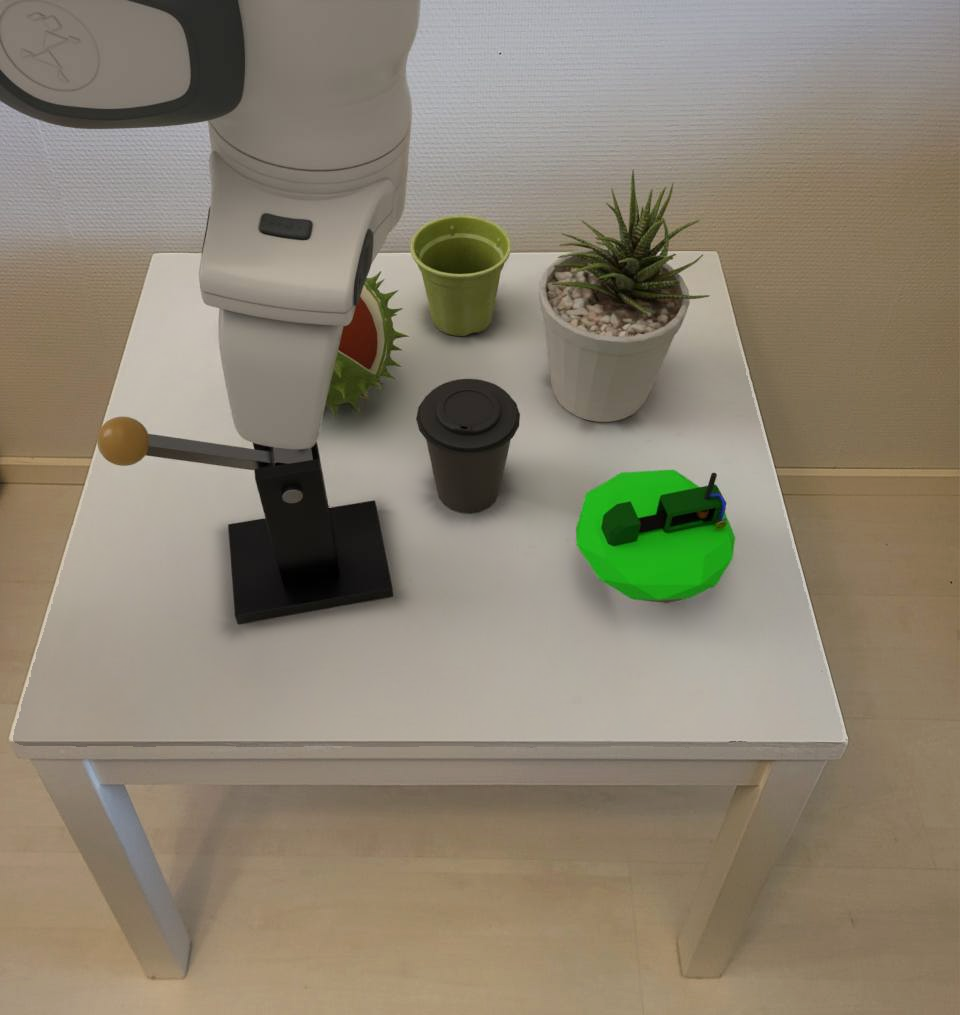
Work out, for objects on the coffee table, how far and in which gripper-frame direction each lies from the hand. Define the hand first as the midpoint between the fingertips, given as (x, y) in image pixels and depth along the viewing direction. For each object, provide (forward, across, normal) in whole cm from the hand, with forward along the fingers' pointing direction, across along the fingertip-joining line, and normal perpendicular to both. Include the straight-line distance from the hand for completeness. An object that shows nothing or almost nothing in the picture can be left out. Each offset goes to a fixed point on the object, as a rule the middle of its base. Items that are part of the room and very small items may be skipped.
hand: (315, 370), depth 56 cm
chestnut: (+26, -21, -3) cm, 34 cm away
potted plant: (+24, -24, +22) cm, 40 cm away
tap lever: (+13, -1, -8) cm, 15 cm away
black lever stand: (+25, -2, -1) cm, 25 cm away
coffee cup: (+24, -11, +11) cm, 28 cm away
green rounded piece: (+22, -4, +25) cm, 34 cm away
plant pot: (+26, -33, +8) cm, 43 cm away
